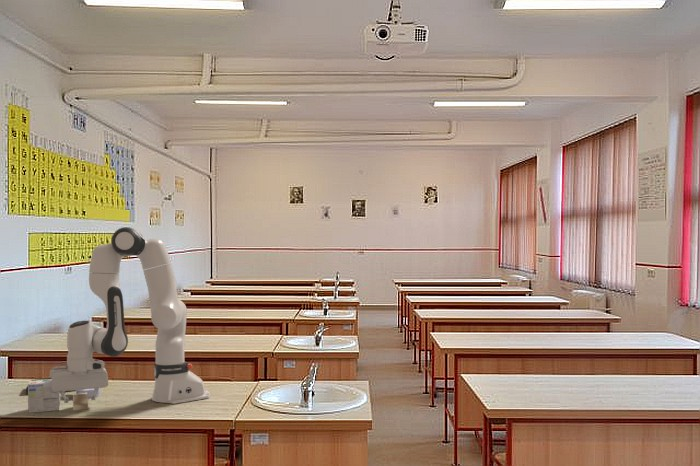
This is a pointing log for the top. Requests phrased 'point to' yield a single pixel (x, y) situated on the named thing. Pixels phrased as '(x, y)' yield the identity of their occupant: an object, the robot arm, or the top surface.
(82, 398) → the ash cube
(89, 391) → the wedge on round base
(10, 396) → the top surface
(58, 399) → the light bulb box
